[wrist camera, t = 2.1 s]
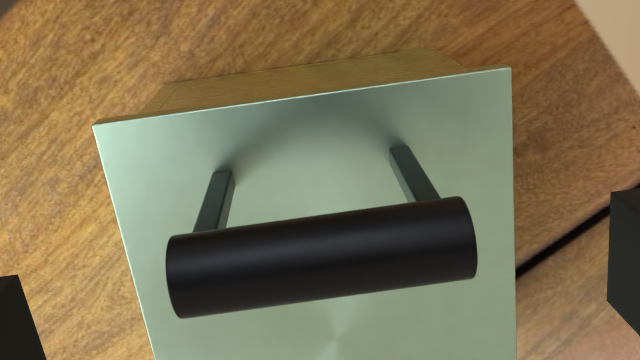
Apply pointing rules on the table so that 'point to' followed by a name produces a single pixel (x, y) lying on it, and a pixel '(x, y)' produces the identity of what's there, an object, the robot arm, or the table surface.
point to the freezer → (300, 78)
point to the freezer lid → (324, 221)
